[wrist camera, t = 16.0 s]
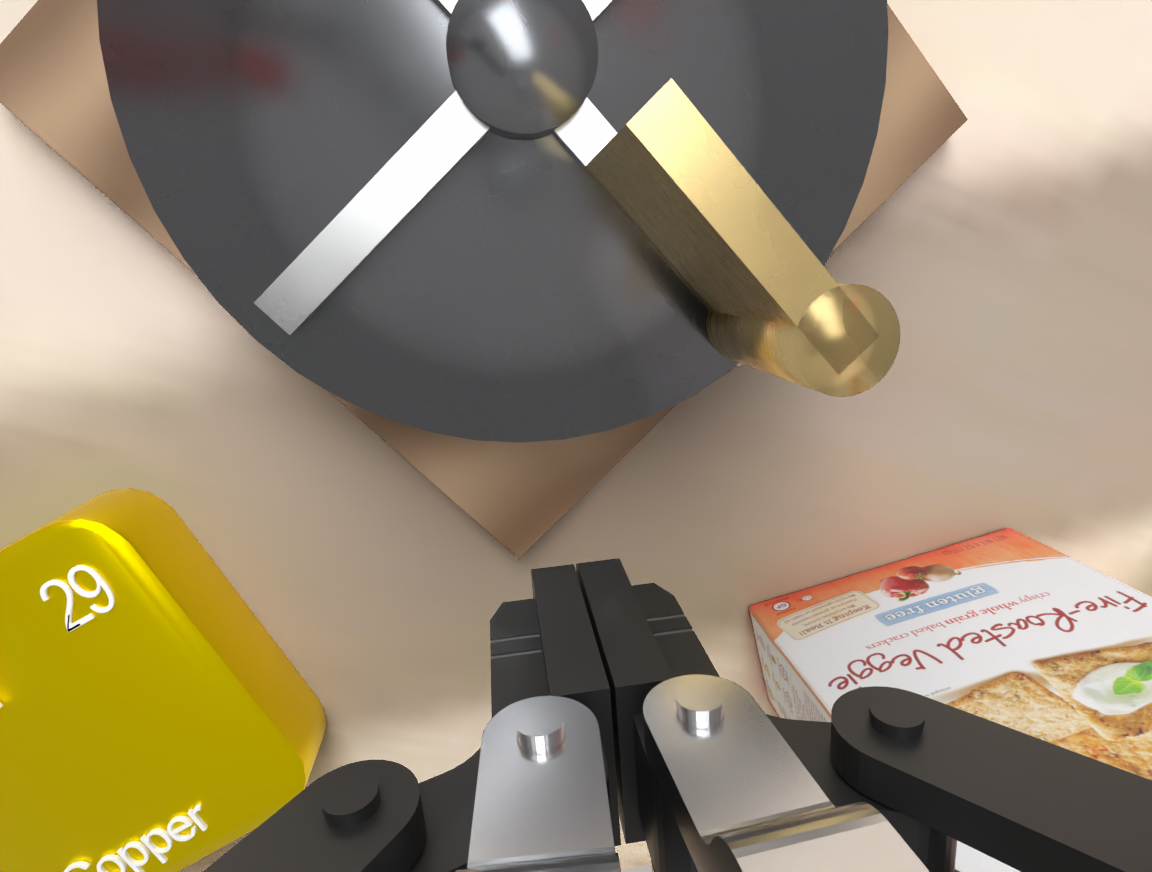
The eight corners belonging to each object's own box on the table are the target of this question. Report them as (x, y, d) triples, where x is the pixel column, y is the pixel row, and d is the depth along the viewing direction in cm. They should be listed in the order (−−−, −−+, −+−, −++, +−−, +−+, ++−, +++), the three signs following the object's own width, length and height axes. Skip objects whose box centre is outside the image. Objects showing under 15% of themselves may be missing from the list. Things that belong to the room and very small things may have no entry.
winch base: (-17, 72, 25) (-130, 28, 20) (492, -512, 23) (494, -708, 18) (528, 555, 32) (535, 602, 27) (953, 139, 30) (1037, 116, 25)
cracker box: (1005, 516, 34) (1742, 865, 14) (1015, 620, 36) (1692, 1068, 16) (740, 596, 34) (1125, 1089, 13) (762, 700, 35) (1137, 1281, 15)
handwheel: (1003, 109, 25) (1248, 32, 17) (527, 568, 26) (546, 696, 18) (517, -621, 18) (541, -1296, 10) (-62, 44, 20) (-415, -103, 12)
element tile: (72, 879, 33) (5, 978, 28) (-162, 639, 29) (-285, 708, 24) (346, 727, 33) (323, 802, 28) (148, 466, 29) (84, 504, 24)
